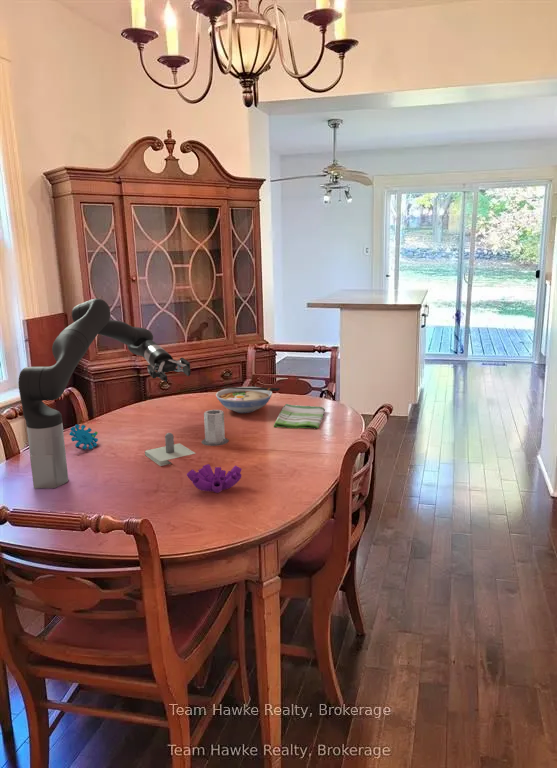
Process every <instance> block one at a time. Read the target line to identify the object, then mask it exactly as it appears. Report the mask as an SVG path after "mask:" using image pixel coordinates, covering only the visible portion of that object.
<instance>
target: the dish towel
mask: <svg viewBox="0 0 557 768" xmlns="http://www.w3.org/2000/svg"><path fill="white" fill-rule="evenodd" d="M324 411H325V412H326V409H325V408H324V407H322V406H313V405H312V406H311V405H296V404H291V403H290V404H289V403H286V404H285V405H284V406H283V407H281V410H280V412H279V414H278V416H277V418H276V420H275V422H274V424H273V428H277V427H287V428H286V429H298V428H315V429H316V428H318V429H319V428H320V426H319V425H321V424H322V423H321V420H322V418H323V414H324V415H325V412H324ZM323 419H324V418H323ZM322 421H323V420H322ZM320 423H321V424H320Z"/></svg>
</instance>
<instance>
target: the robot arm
mask: <svg viewBox="0 0 557 768" xmlns="http://www.w3.org/2000/svg"><path fill="white" fill-rule="evenodd" d="M71 318H72V321H73V322H72V323H71V324H69V325H68V326H66V327H65V328H64V329H63V330H62V331H61V332H60V333H59V334H58V335H57V336H56V338H55V339H54V341H53V343H52V347H51V349H52V350H51V351H52V355H53V357H54V360H55V361H56V363H54V364H53V365H51V366H26V367H24V368H22V369H21V371H20V372H19V375H18V376H19V377H18V384H17V385H18V390H19V391H18V392H19V397H20V402H21V407H22V414H23V417H24V421H25V424H26V433H27V441H28V449H29V459H30V466H31V467H30V469H31V476H32V484H33V485H32V486H33V489H56V488H58V487H59V486H63V485H64V484H67V483H68V481H69V472H68V464H67V463H68V462H67V455H66V454H67V453H66V445H65V436H64V435H65V434H64V426H63V415H62V413H61V412H60V411H59V410H57V409H54V408H51V407H50V406H49V405H47V404H45V403H44V402H43V401H47V402H49V401H55V400H58V399H60V398H61V397H62V395H63V394H64V392H65V390H66V388H67V386H68V384H69V381H70V380H71V377H72V375H73V373H74V371H75V370H76V367H77V366H78V365H79V363H80V361H81V360H82V359H83V357H84V355H85V354H86V353H87V351H88V349H89V348H90V346H91V344H92V343H93V341H95V339H96V337H97V335H101V336H105V337H109V338H111V339H112V340H116V341H118V342H119V343H121V344H124V345H127V350H128V351H129V352H130V353H132V354H133V355H136V356H140V357H142V358H143V359H144V360H146V362H147V363H148V364H147V367H146V368H147V373H148V375H150V377H151V378H152V379H156V378H158V379H160V380H161V381H163V382H168V375H166V373H167V374H168V373H170V372H176V373H180V372H183V373H184V374H185V375H186V376H187V377H190V376H191V375H192V374H191V362H189V361H188V360H186V358H184V357H180V358H179V359H178V360H176V359H174V358H173V356H172V355H171V354H170V353H169V352H168V351H166V350H165V349H164V348H163V347H161V346H160V345H159V344H158V343H156V342H155V341H153V340H154V334H153V333H152V331H151V330H149V329H147V328H144V327H137V326H136V327H135V326H132V325H130V324H129V323H127V322H125V321H121V320H115V319H114V320H113V319H110V318H111V308H110V306H109V304H108V303H107V302H106V301H105V300H103V299H102V298H93V299H89V300H87V301H84V302H80V303H79V304H77V305H75V306H74V307H73V308H72V310H71Z"/></svg>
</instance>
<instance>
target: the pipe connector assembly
mask: <svg viewBox="0 0 557 768" xmlns="http://www.w3.org/2000/svg"><path fill="white" fill-rule="evenodd" d="M242 470H243V469H242V468H241V467H239V466H237V465H234V466H233V467H232V469H231V470H228V471H227V470H224V469H222V467H221V466H220V467H217V466H216V467H214V471H213V469H212V467H211V465H210V463H209V464H205V465H202V468H199V469H198V471H195V470H194V469H191V470H189V471H188V472H187V473H186V477H187V478H188V479H189V480H190V482H191V483H192V484H193V486H194V487H195V488H196V489H198V490H199V491H202V492H213V493H221V492H222V491H224V490H227V489H230V488H232V487H233V486H235V485H236V484H237V483H238V482H239V481H240V480H241V478H242V474H241V472H242ZM226 471H227V473H226Z"/></svg>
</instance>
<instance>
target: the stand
mask: <svg viewBox="0 0 557 768" xmlns="http://www.w3.org/2000/svg"><path fill="white" fill-rule="evenodd" d="M200 442H201V444H202V445H204V446H210V447H219V446H223V445H226V444H228V443H229V438H226V437H225V441H224V442H223V443H220V444H208V443H206V442H205V438H204V439H202V440H201V441H200Z"/></svg>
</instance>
